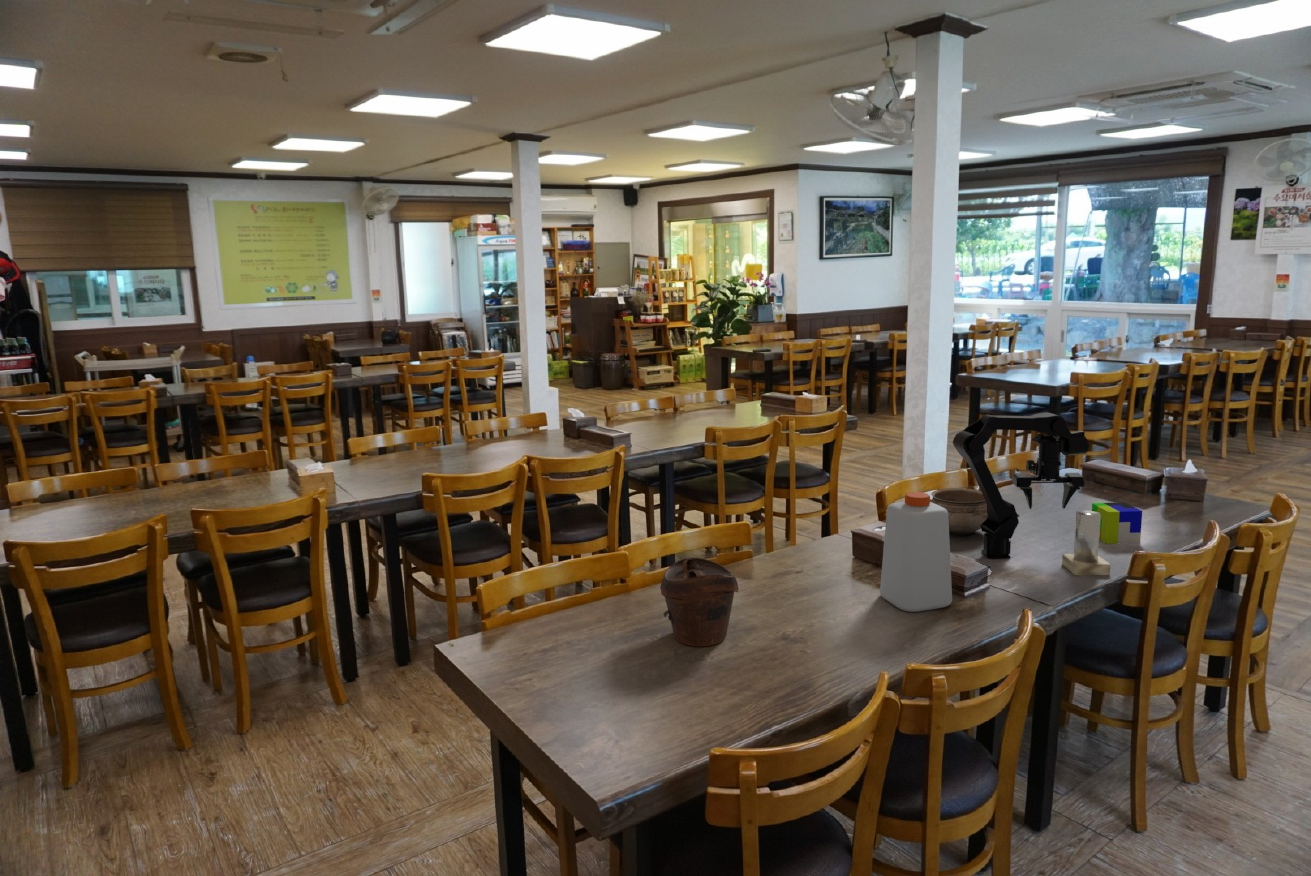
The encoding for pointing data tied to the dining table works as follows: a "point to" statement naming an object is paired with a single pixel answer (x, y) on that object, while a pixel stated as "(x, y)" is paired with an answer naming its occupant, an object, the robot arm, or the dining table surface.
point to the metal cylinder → (1087, 536)
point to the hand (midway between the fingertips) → (1046, 508)
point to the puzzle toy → (1119, 522)
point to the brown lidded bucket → (698, 600)
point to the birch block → (1085, 566)
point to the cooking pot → (962, 509)
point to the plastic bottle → (916, 555)
